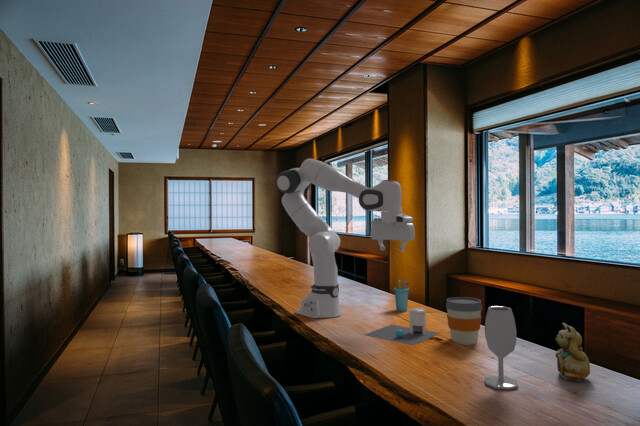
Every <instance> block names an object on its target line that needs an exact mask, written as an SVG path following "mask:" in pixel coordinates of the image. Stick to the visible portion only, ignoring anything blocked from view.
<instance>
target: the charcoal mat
mask: <svg viewBox="0 0 640 426" xmlns="http://www.w3.org/2000/svg"><path fill="white" fill-rule="evenodd" d="M397 330H402V331H403V333H404V335H403V337H402V338H398V337H397V336H396V331H397ZM440 334H441V333H440V332H438V331H437V332H436V331H430V330H426V334H424V335H423V334H422V332H420V331H414V332H413V334H410V326H404V325H403V326H402V325H397V324H389V325H387V326H384V327H381V328H378V329H376V330H373V331H371V332H368V333H365V334H364V336H366V337H371V338H376V339H377V338H378V339H382V340H386V341H390V342H397V343H401V344H406V345H411V346H416V345H418V344H420V343H422V342H425V341H427V340H429V339H431V338H433V337H436V336H437V335H440Z"/></svg>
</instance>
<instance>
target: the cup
mask: <svg viewBox="0 0 640 426" xmlns="http://www.w3.org/2000/svg"><path fill="white" fill-rule="evenodd" d="M406 285H409V282H407V280H404V281H403V285H402V283H401V279H398V286H397V287H393V291H394V299H395V300H394V301H395V308H396V312H400V313H401V312H407V311H408V302H409V292H410V287H406Z"/></svg>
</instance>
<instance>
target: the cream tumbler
mask: <svg viewBox="0 0 640 426" xmlns="http://www.w3.org/2000/svg"><path fill="white" fill-rule="evenodd" d="M426 323H427V322H426V309H425V308H421V307H414V308H410V309H409V328H410V334H413V332H414V331H420V332H422V334H423V335H424V334H426V331H427V330H426Z"/></svg>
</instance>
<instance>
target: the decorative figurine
mask: <svg viewBox="0 0 640 426" xmlns="http://www.w3.org/2000/svg"><path fill="white" fill-rule="evenodd" d="M561 325H562V327H563V329H561V330H559V331H558V334H557V335H556V337H555V342H557V345H559V347H561V348H560V349H558V350H557V351H556V353H555V358H556V366H557V371H558V372H559V375H560V376H561V377H562V378H563V379H564V380H565V381H574V382H585V381H584V379H585V378H588V377H589V375H590V374H591V365H590V359H589V358H588V356H587V354H586V353H585V352H584V351H583V347H582V346H581V345H582V344H583V337H582V335H581V334H580V333H579V332H578V331H577V330H576V329H575V328H574V327H573V326H571V325H568V324H567V323H564V322H561Z"/></svg>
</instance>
